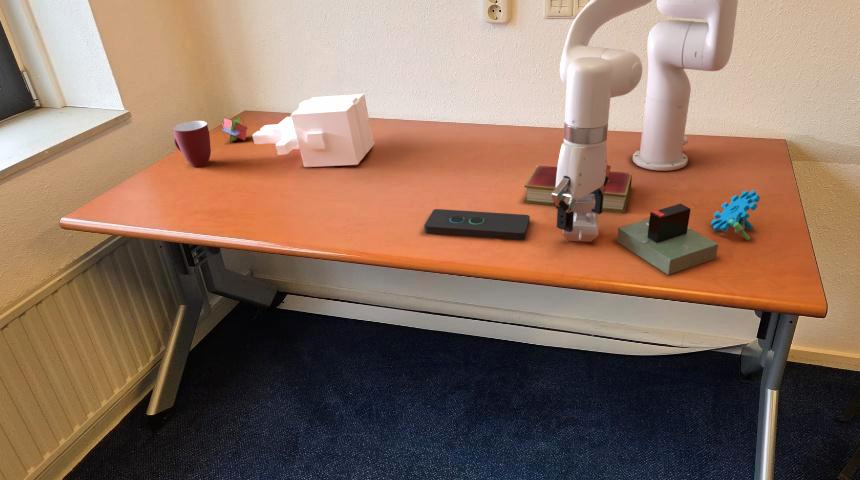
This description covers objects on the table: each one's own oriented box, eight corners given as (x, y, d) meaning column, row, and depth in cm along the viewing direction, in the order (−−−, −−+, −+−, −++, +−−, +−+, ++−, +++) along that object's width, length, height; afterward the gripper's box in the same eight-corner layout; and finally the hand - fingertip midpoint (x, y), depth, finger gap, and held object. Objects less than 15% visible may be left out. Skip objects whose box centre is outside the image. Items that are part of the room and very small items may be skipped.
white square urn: (562, 226, 131) (564, 187, 127) (596, 227, 130) (599, 187, 126) (562, 248, 123) (564, 207, 119) (598, 249, 123) (601, 208, 118)
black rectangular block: (676, 227, 122) (680, 202, 119) (686, 233, 120) (691, 207, 117) (647, 237, 119) (650, 211, 117) (656, 243, 117) (660, 216, 115)
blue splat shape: (710, 206, 132) (755, 179, 125) (728, 226, 133) (774, 200, 127) (707, 238, 124) (755, 210, 117) (727, 259, 125) (775, 233, 119)
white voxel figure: (286, 145, 182) (383, 139, 177) (246, 180, 162) (354, 176, 156) (272, 91, 175) (372, 84, 169) (228, 122, 154) (340, 114, 148)
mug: (168, 167, 166) (157, 129, 161) (189, 156, 173) (178, 119, 167) (203, 171, 163) (192, 132, 158) (223, 159, 170) (213, 121, 164)
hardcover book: (536, 180, 150) (537, 163, 148) (630, 189, 144) (632, 171, 142) (524, 202, 141) (524, 184, 139) (624, 212, 135) (626, 193, 133)
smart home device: (434, 207, 136) (530, 213, 132) (434, 215, 137) (530, 221, 133) (423, 225, 130) (524, 232, 125) (423, 233, 130) (524, 241, 126)
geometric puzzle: (259, 129, 182) (238, 106, 180) (246, 137, 177) (225, 113, 174) (243, 143, 186) (223, 120, 183) (231, 152, 180) (209, 128, 178)
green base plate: (616, 242, 125) (617, 227, 123) (662, 227, 129) (664, 213, 127) (667, 275, 114) (670, 259, 112) (716, 258, 118) (719, 242, 116)
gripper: (594, 116, 123) (588, 200, 132) (538, 141, 112) (535, 231, 121) (630, 123, 119) (621, 210, 128) (575, 150, 108) (569, 243, 117)
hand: (579, 220), depth 124 cm, fingers open, 9 cm apart
